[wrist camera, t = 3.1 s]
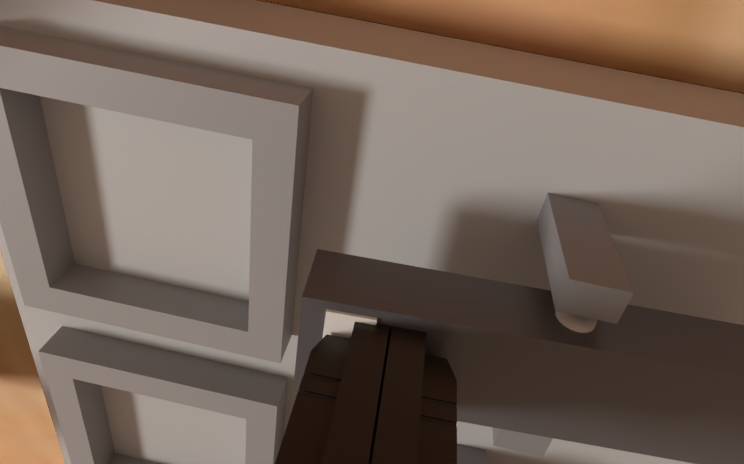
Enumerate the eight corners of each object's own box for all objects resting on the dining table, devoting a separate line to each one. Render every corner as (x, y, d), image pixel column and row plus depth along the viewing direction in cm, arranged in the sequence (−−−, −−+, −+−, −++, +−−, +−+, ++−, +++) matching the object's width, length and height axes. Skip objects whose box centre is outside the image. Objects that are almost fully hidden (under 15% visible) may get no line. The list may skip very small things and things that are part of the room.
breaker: (819, 334, 11) (873, 397, 10) (744, 421, 13) (781, 485, 12) (317, 245, 11) (301, 295, 10) (306, 342, 13) (292, 396, 12)
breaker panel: (861, 116, 13) (1117, 263, 8) (577, 521, 25) (606, 696, 19) (8, -48, 15) (-257, -13, 9) (105, 410, 26) (10, 546, 20)
